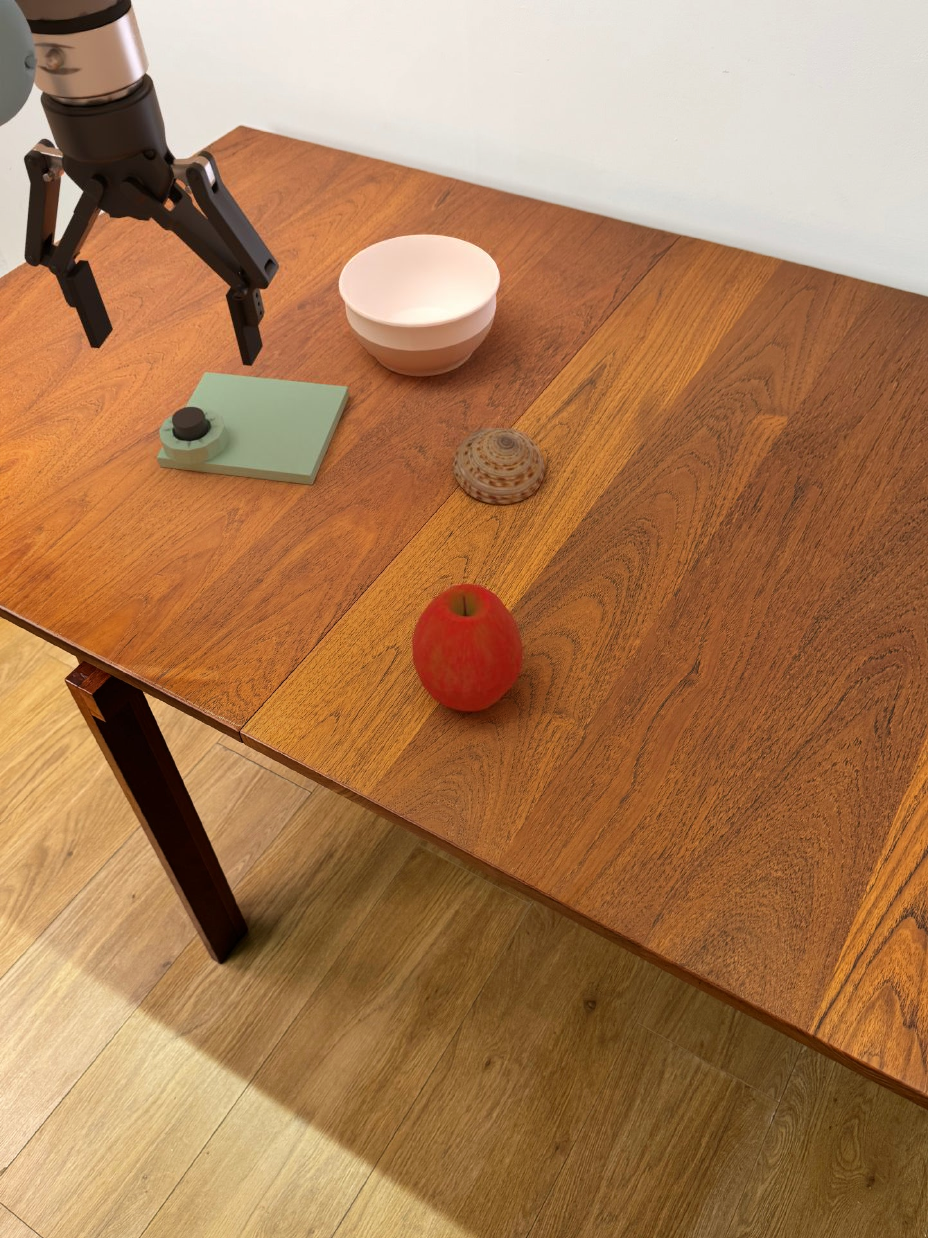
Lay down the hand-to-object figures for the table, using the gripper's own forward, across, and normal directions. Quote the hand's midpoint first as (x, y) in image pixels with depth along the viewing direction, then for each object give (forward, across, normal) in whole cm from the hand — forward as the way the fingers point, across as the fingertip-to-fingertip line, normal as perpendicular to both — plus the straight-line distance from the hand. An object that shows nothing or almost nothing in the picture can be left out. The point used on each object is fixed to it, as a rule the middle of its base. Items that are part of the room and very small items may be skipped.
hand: (176, 347), depth 83 cm
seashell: (+14, +26, +4) cm, 30 cm away
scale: (+13, +2, +6) cm, 15 cm away
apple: (+14, +29, -20) cm, 38 cm away
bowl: (+14, +15, +22) cm, 30 cm away
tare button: (+11, -2, +1) cm, 11 cm away
